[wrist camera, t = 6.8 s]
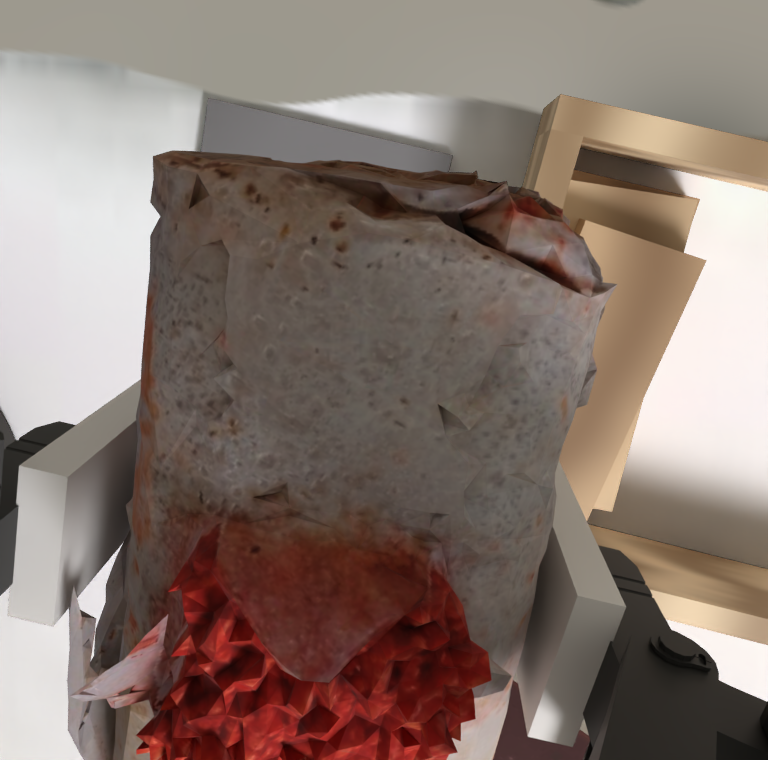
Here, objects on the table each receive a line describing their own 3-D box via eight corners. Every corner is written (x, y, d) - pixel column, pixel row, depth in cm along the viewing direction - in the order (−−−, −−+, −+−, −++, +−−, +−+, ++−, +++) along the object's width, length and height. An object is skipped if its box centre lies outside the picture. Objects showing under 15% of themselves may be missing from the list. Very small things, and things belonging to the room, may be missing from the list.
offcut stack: (468, 475, 34) (469, 518, 30) (555, 167, 30) (573, 164, 26) (589, 505, 34) (609, 553, 30) (695, 200, 30) (737, 203, 26)
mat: (165, 427, 35) (161, 430, 35) (211, 98, 31) (208, 97, 30) (374, 480, 35) (373, 483, 35) (452, 155, 30) (452, 155, 30)
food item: (461, 681, 20) (493, 1150, 10) (184, 638, 20) (-38, 1060, 10) (563, 185, 16) (771, 199, 6) (216, 135, 16) (-94, 73, 6)
